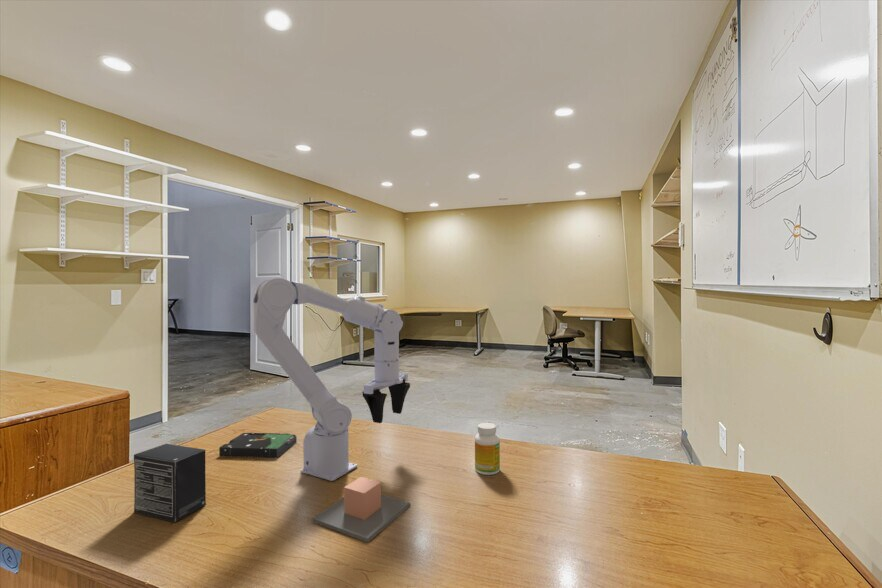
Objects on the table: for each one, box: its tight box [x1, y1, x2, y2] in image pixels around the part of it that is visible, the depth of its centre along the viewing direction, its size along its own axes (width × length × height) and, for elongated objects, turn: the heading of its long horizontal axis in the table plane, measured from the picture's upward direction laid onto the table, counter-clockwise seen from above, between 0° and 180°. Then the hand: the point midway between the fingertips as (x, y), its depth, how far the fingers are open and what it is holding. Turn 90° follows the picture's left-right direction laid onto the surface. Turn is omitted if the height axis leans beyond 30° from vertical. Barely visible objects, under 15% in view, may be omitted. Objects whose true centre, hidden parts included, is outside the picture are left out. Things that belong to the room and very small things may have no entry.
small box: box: [133, 443, 207, 523], centre depth 72 cm, size 11×6×10 cm, turn 71°
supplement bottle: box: [474, 422, 501, 476], centre depth 87 cm, size 5×5×10 cm
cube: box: [343, 476, 382, 520], centre depth 70 cm, size 4×4×4 cm
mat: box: [311, 493, 411, 543], centre depth 70 cm, size 12×12×1 cm
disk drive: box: [218, 432, 297, 459], centre depth 100 cm, size 10×3×15 cm
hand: (387, 417), depth 94 cm, fingers open, 7 cm apart
